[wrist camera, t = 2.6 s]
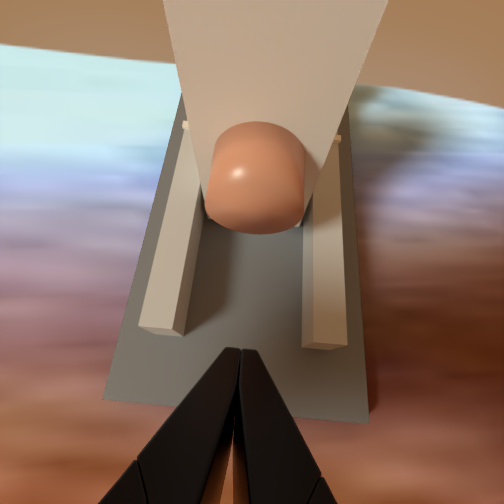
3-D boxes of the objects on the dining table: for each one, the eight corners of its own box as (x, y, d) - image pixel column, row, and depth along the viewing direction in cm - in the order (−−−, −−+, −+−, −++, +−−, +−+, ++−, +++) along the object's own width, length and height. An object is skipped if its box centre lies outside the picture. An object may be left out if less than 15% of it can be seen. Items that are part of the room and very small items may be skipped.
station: (361, 420, 14) (440, 450, 8) (111, 398, 14) (25, 412, 8) (343, 111, 22) (377, 23, 16) (186, 97, 22) (167, 4, 16)
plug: (298, 268, 15) (408, 62, 5) (201, 259, 15) (126, 36, 5) (299, 183, 18) (380, -77, 7) (215, 175, 18) (180, -96, 7)
